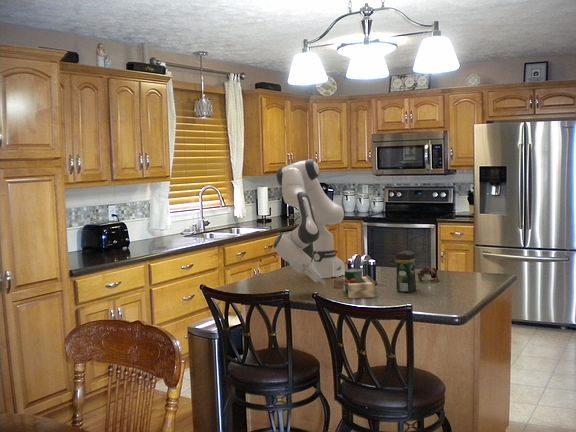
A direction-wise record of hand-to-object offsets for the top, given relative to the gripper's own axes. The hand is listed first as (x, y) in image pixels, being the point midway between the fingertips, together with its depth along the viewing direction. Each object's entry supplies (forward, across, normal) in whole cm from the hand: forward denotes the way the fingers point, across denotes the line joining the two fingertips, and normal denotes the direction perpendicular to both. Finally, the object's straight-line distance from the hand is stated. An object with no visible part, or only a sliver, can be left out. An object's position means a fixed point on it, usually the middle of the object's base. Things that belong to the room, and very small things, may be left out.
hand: (324, 283), depth 282 cm
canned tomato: (+13, 0, -5) cm, 14 cm away
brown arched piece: (+43, +22, -35) cm, 59 cm away
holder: (+15, 0, -7) cm, 17 cm away
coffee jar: (+31, +1, -23) cm, 38 cm away
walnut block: (+11, +18, -3) cm, 21 cm away
